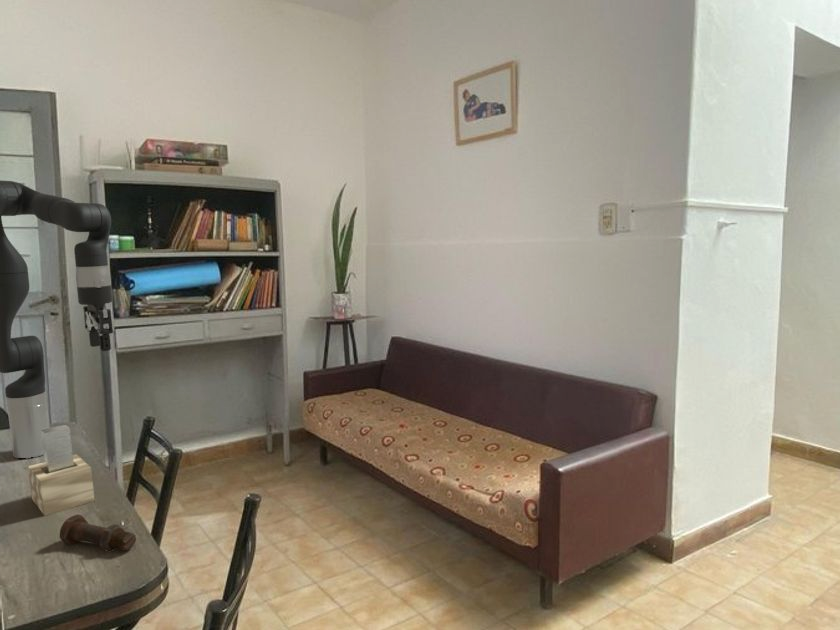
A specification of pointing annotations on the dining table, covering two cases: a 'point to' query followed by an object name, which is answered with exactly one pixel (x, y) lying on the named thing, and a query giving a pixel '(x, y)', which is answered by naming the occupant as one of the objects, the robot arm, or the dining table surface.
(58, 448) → the tall grey square pillar
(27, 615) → the dining table surface
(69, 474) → the open beige box
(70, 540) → the bolt
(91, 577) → the dining table surface
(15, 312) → the robot arm
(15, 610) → the dining table surface
